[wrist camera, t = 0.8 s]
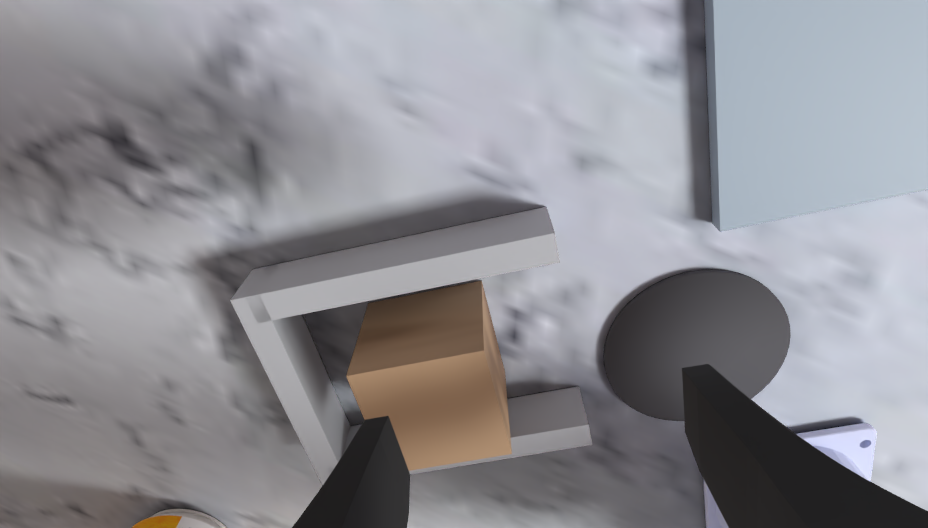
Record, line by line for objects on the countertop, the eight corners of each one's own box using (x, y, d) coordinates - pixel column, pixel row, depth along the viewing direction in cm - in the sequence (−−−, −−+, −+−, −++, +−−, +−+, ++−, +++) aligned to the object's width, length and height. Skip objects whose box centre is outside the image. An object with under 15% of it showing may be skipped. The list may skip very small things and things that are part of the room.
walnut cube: (504, 371, 26) (511, 453, 22) (400, 390, 27) (387, 474, 22) (481, 279, 24) (484, 350, 19) (368, 302, 24) (346, 376, 20)
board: (984, 168, 21) (1001, 175, 21) (712, 223, 22) (720, 231, 22) (1045, -148, 17) (1070, -153, 16) (702, -59, 18) (711, -60, 17)
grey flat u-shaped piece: (582, 405, 27) (592, 444, 25) (335, 447, 28) (323, 488, 26) (546, 206, 22) (554, 233, 20) (252, 269, 24) (230, 300, 21)
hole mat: (784, 400, 27) (787, 405, 26) (613, 428, 28) (615, 433, 27) (789, 252, 23) (793, 255, 23) (593, 290, 24) (594, 294, 24)
